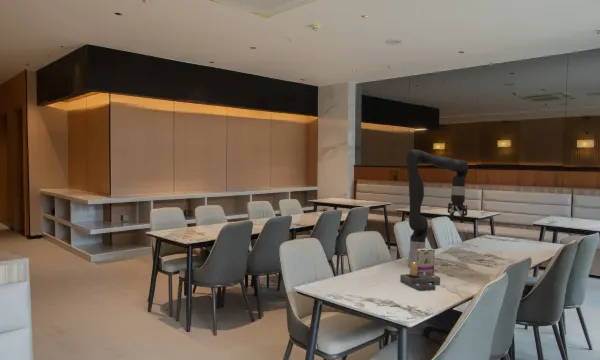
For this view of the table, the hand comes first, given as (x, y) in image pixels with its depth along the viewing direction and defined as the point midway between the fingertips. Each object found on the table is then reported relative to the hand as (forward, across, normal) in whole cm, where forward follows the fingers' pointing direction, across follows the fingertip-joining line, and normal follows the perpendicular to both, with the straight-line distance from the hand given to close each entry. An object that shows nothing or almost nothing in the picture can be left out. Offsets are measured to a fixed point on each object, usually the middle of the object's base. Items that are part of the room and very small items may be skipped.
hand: (456, 221), depth 259 cm
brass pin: (+33, -6, +32) cm, 46 cm away
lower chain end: (+33, -10, +32) cm, 47 cm away
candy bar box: (+33, +6, +17) cm, 38 cm away
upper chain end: (+33, -6, +28) cm, 43 cm away
